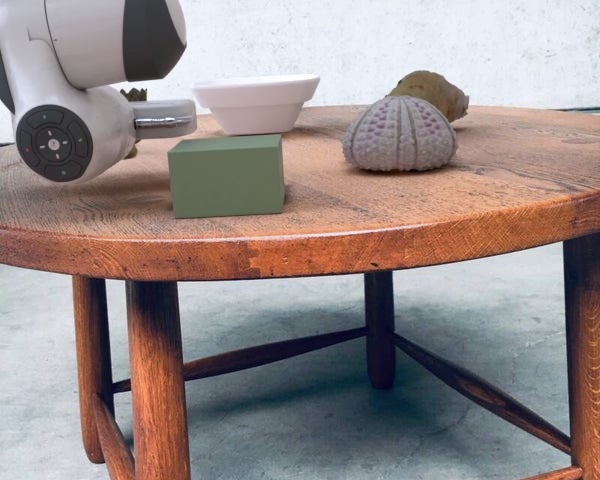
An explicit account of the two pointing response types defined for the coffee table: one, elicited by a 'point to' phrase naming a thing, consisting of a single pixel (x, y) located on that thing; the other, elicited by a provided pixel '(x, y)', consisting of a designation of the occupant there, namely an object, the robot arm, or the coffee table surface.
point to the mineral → (434, 93)
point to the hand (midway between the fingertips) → (119, 115)
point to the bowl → (256, 101)
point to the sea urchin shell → (400, 136)
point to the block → (227, 176)
